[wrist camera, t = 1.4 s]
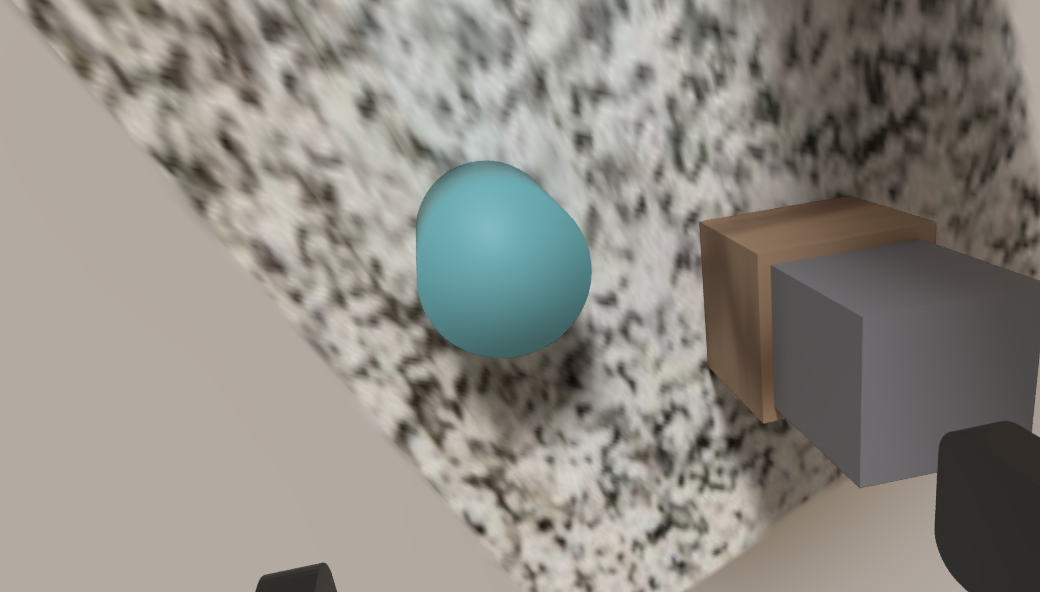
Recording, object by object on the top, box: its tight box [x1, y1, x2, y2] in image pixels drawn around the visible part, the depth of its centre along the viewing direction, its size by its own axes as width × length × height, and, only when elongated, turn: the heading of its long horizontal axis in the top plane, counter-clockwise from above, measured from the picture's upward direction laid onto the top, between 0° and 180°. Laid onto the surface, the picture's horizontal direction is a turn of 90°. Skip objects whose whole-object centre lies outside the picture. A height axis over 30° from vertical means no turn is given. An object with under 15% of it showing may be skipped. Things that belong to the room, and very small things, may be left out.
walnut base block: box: [699, 196, 936, 423], centre depth 26 cm, size 6×6×5 cm
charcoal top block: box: [771, 239, 1040, 488], centre depth 22 cm, size 5×5×5 cm
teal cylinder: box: [416, 161, 592, 358], centre depth 23 cm, size 5×5×6 cm
